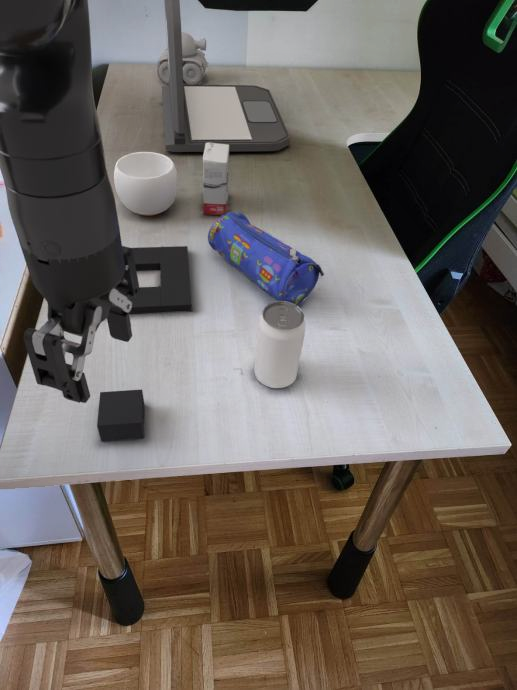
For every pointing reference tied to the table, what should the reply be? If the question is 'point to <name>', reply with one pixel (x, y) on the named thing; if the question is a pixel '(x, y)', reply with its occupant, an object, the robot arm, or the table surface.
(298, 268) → the pencil case
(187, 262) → the socket pad
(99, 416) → the plug pad
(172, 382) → the table surface
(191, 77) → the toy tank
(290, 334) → the can
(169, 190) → the cup
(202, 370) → the table surface
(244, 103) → the gray camera stand
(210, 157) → the ink box
